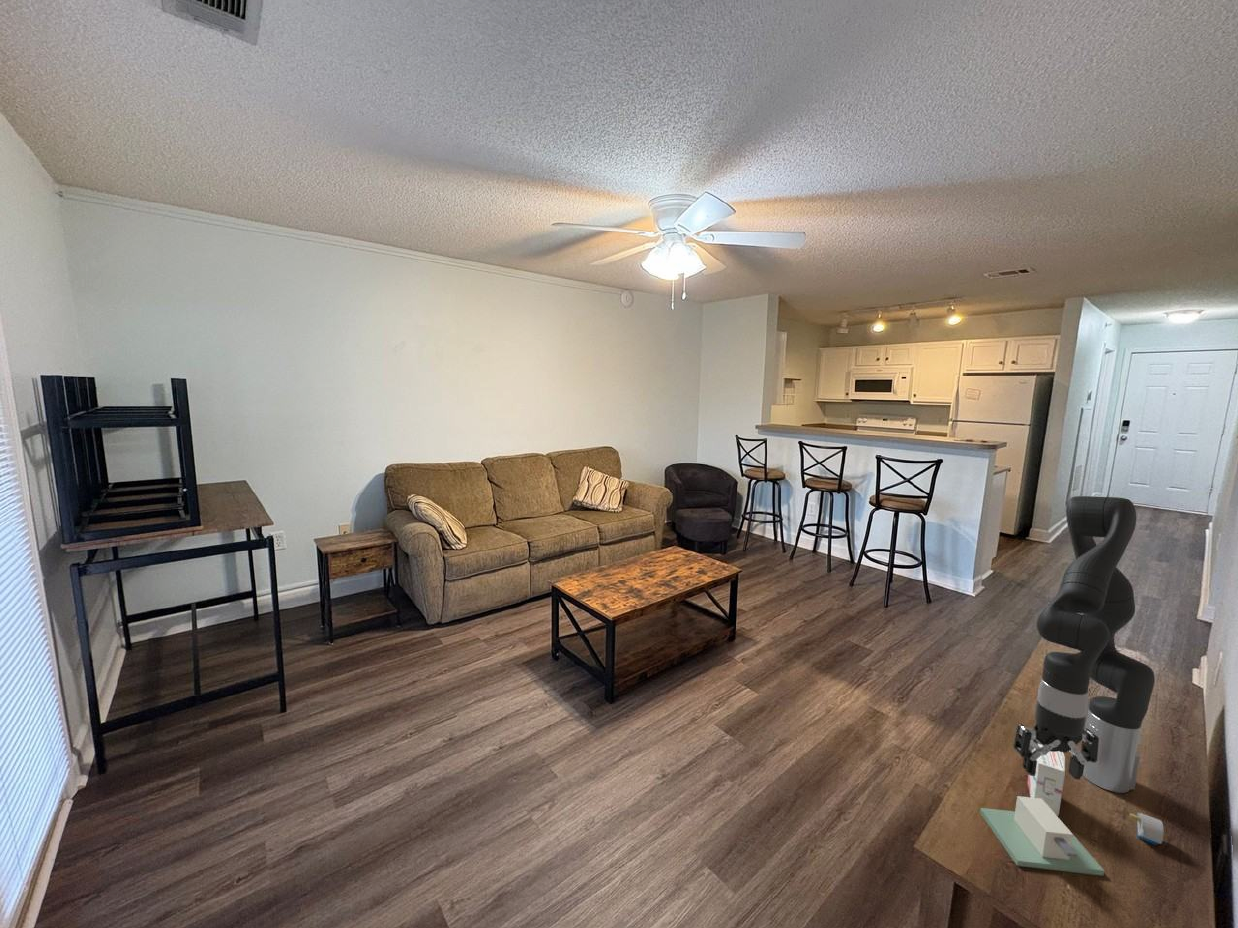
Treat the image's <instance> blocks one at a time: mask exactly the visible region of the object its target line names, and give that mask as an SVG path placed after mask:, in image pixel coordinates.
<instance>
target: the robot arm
mask: <svg viewBox="0 0 1238 928" xmlns="http://www.w3.org/2000/svg"><path fill="white" fill-rule="evenodd" d="M1065 516H1066V524H1067V527H1068V533H1069V536H1070V540H1071V545H1072V549H1073V552H1074V557H1075V559H1074V560H1073V561H1072V562H1070V564H1069V565H1068V566H1067V568H1066V569H1065V571H1064V574H1063V576H1062V580H1061V583H1060V586H1059V589H1058V592H1057V594H1056V595H1055V596H1054V597H1053V599H1052V600H1051V601H1050V602H1049V604H1047V606H1046V607H1045V608H1044V609H1043V610H1042V611H1041V612H1040V614H1039V615H1038V617H1037V620H1036V630H1037V632H1038V634H1039V635H1040V637H1042V638H1043V640H1045V641H1047V642H1051V643H1053V644H1057V645H1061V646H1064V647H1067V648H1070V649H1073V650H1078V651H1079V652H1076V653H1073V652H1072V653H1069V652H1062V651H1052V652H1051V651H1050V652H1048V653H1046V655H1045V657H1044V660H1043V666H1042V667H1043V668H1042V674H1041V675H1042V676H1041V680H1040V683H1039V686H1038V690H1037V691H1038V692H1037V699H1036V707H1035V716H1034V717H1035V725H1034V726H1033V727H1028V726H1025V725H1024V724H1022V723H1019V724H1018V725H1017V728H1016V732H1015V733H1016V734H1015V737H1014V743H1013V748H1014V750H1015V751H1016V752H1018V754H1019V755H1020V756H1021V757H1022V758H1023V759H1022V767H1023V769H1024V770H1025V772H1027V774H1028V775H1030V776H1035V773H1036V765H1037V761H1036V759H1037V758H1039V757H1040V756H1041V755H1046V754H1047V753H1048V752H1049V751H1051V752H1057V751H1060V752H1063V753H1064V754H1065V753H1068V752H1069V753H1070V754H1071V756H1070V758H1069V764H1068V771H1067V772H1068V773H1069V775H1070V776H1071V777H1072V778H1073V779H1074V780H1081V778H1082V777H1083V778H1085V779H1086V780H1087V781H1089V782H1090V783H1091V784H1094V785H1095V786H1097V787H1099V788H1102V789H1104V790H1105V791H1106V790H1107V791H1110V792H1113V793H1120V794H1124V793H1128V792H1129V791H1130V790H1133V791H1134V790H1136V789H1135V787H1136V782H1137V778H1138V772H1139V765H1140V760H1141V754H1140V753H1139V752H1138V751H1137V750H1138V745H1139V742H1140V734H1141V733H1140V732H1141V729H1142V724H1143V721H1144V719H1145V716H1146V715H1147V712H1148V710H1149V706H1150V705H1149V704H1150V701H1151V697H1152V693H1153V691H1154V687H1155V682H1156V681H1155V680H1156V679H1155V678H1156V677H1155V673H1154V671H1153V669H1152V668H1151V667H1150V666H1149V665H1147V664H1145V663H1143V662H1141V661H1139V660H1138V659H1137V660H1136V659H1134V658H1132V657H1130V656H1128V655H1126V654H1123V653H1121V652H1119V651H1118V650H1117V648H1116V645H1115V637H1116V633H1118V631H1120V630H1122V628H1124V627H1125V626H1126V625H1127V624H1128V623H1129V622H1130V621H1132V619H1133V617H1134V616H1135V613H1136V604H1135V596H1134V588H1133V586H1132V583H1131V582H1130V580H1129V579H1128V577H1126V576H1125V574H1124V573H1123V572H1122V571H1121V570H1120V569H1119V568H1118V567H1117V566H1118V564H1119V562H1120V560H1121V558H1122V557H1123V554H1124V553H1125V551H1126V550H1127V547H1128V545H1129V543H1130V541H1131V539H1132V537H1133V535H1134V532H1135V530H1136V525H1137V512H1136V508H1135V505H1134V503H1133V502H1132V501H1131V500H1130V499H1128V498H1124V497H1117V496H1115V497H1114V496H1092V495H1091V496H1089V495H1088V496H1087V495H1083V496H1082V495H1079V496H1072V497H1070V498H1069V500H1068V501H1067V504H1066V508H1065ZM1094 538H1104V539H1103V540H1102V541H1100V542H1099V543H1098V544H1097V543H1096V541H1095V539H1094ZM1090 679H1091V680H1093V681H1094V682H1096V683H1097V684H1099V685H1101V686H1103V687H1104V688H1107V689H1109V690H1110V691H1112V692H1114V693H1116V698H1115V697H1113V696H1111V697H1110V696H1103V695H1098V696H1093V697H1091V698H1090V700H1089V696H1088V694H1089V687H1090ZM1079 743H1081V750H1080V749H1079V747H1078V746H1077V745H1078V744H1079ZM1038 744H1041V745H1043V747H1040V746H1039V745H1038ZM1033 749H1035V751H1034V752H1032V750H1033Z"/></svg>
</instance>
